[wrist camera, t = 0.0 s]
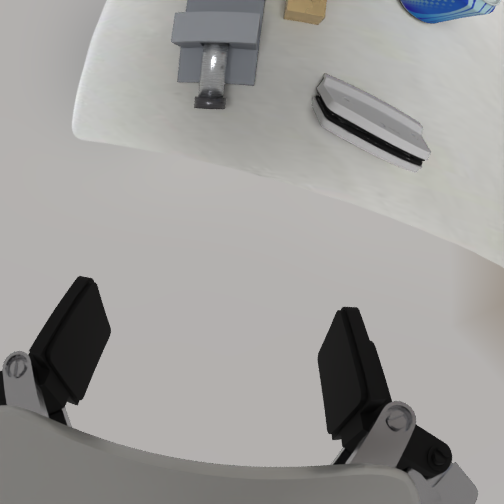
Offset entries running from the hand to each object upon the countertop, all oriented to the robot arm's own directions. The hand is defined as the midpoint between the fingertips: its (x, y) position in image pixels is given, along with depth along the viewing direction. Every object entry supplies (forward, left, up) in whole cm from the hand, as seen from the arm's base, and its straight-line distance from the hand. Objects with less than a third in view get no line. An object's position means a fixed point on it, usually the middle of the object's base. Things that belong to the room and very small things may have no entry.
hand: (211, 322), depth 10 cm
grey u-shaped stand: (-20, -5, -31) cm, 37 cm away
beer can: (-30, +22, -31) cm, 49 cm away
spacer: (-22, +5, -31) cm, 39 cm away
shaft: (-11, -5, -30) cm, 32 cm away
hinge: (-7, +16, -32) cm, 36 cm away
